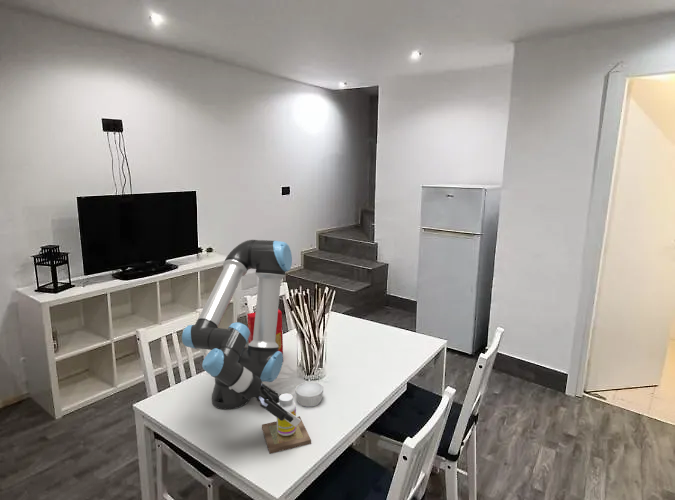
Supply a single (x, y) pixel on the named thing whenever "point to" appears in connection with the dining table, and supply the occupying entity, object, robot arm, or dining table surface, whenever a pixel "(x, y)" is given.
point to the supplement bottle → (287, 405)
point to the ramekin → (309, 393)
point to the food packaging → (278, 329)
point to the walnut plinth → (285, 437)
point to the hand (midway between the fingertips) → (295, 417)
